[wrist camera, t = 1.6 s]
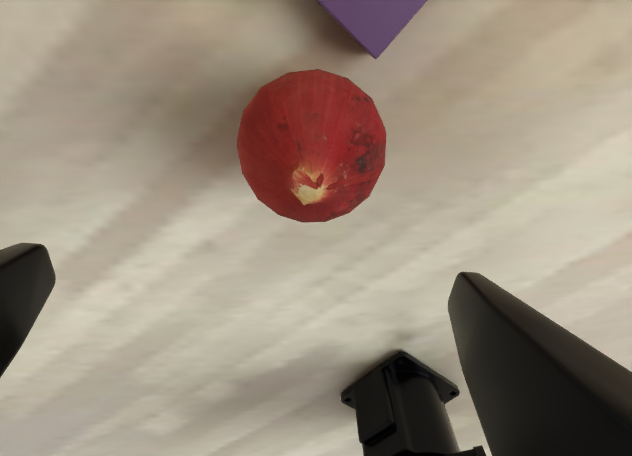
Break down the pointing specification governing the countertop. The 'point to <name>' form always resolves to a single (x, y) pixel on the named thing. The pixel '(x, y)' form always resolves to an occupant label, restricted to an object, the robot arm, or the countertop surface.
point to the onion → (311, 145)
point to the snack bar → (372, 20)
